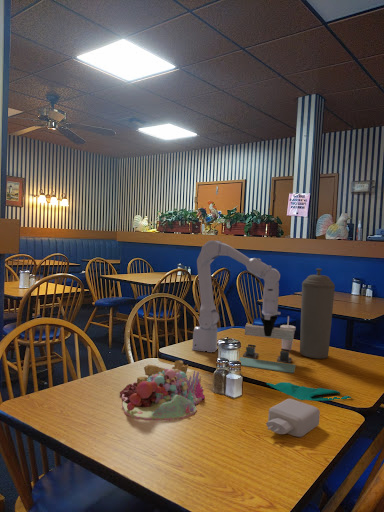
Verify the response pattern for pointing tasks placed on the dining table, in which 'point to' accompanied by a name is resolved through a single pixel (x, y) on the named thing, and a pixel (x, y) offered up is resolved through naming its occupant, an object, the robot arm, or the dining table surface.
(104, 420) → the dining table surface
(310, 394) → the cloth
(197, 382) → the coral reef model
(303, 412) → the charger
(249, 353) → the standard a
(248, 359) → the mat
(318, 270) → the canister
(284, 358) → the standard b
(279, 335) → the rail
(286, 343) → the smoothie
